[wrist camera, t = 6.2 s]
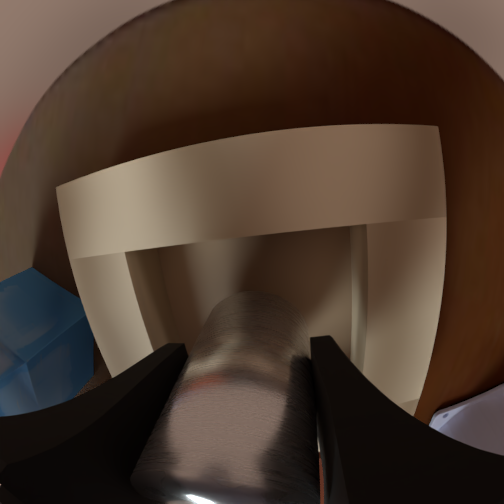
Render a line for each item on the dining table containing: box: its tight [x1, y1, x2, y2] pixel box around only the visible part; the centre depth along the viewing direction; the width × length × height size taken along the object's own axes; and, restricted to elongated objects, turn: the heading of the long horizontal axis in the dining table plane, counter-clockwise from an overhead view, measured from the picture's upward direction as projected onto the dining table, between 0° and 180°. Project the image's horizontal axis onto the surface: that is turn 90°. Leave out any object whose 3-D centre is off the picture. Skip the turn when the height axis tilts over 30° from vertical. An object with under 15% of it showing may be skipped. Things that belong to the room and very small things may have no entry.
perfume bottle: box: [0, 267, 94, 417], centre depth 9 cm, size 6×6×12 cm
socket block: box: [56, 124, 446, 452], centre depth 11 cm, size 14×14×4 cm
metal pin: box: [130, 291, 320, 504], centre depth 7 cm, size 4×4×7 cm
